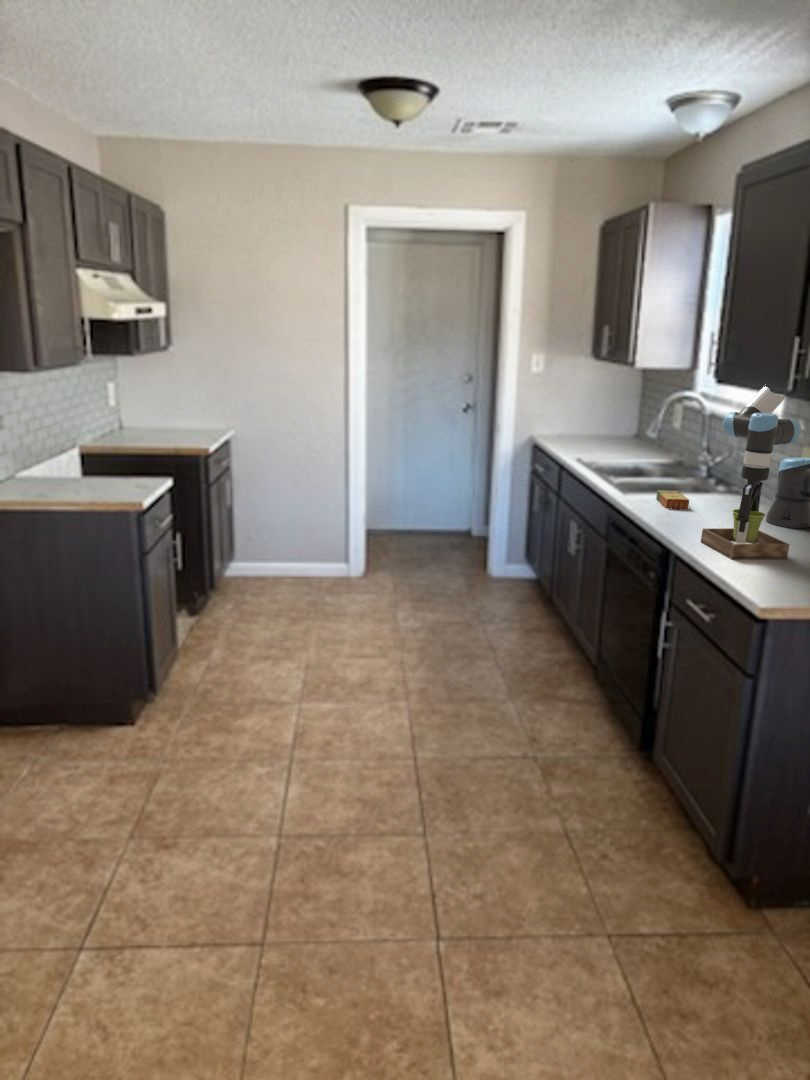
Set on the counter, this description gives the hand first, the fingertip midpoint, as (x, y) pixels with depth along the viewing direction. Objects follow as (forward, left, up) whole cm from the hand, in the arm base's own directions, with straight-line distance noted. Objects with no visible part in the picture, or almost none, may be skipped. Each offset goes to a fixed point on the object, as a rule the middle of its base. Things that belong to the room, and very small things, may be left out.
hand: (744, 539), depth 252 cm
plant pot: (0, 0, 0) cm, 0 cm away
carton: (-7, -60, -4) cm, 60 cm away
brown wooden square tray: (0, 0, -4) cm, 4 cm away
